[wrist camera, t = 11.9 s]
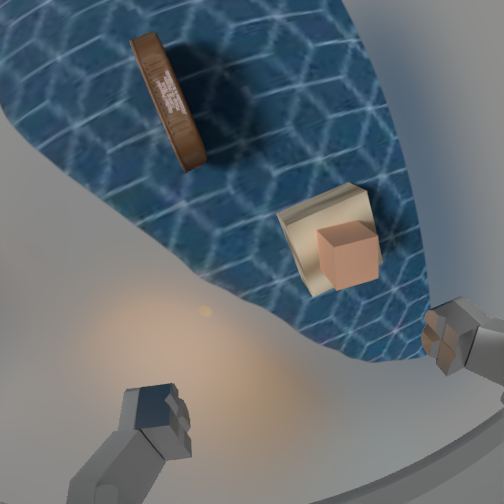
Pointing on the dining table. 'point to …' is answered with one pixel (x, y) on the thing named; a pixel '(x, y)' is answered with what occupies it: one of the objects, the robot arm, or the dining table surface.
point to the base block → (321, 216)
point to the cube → (348, 254)
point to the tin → (169, 100)
